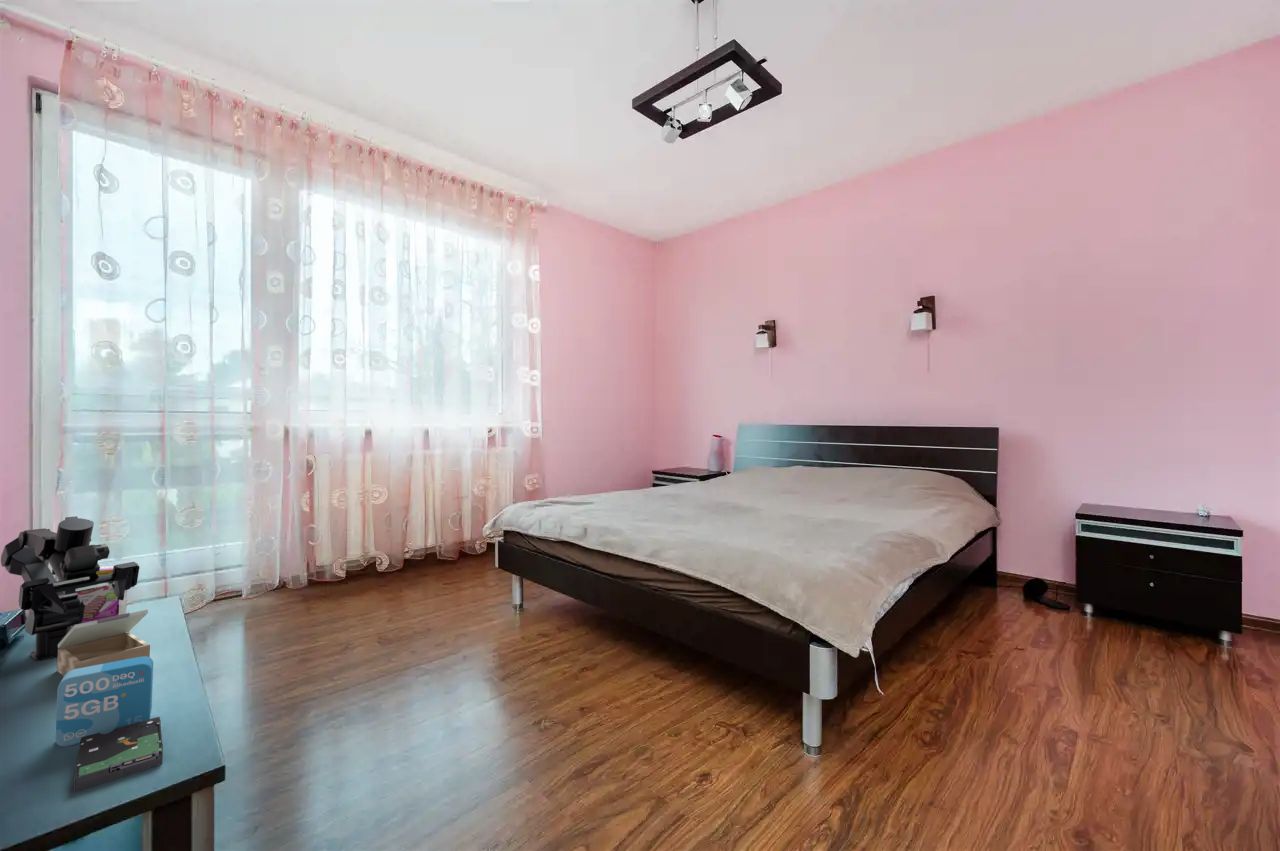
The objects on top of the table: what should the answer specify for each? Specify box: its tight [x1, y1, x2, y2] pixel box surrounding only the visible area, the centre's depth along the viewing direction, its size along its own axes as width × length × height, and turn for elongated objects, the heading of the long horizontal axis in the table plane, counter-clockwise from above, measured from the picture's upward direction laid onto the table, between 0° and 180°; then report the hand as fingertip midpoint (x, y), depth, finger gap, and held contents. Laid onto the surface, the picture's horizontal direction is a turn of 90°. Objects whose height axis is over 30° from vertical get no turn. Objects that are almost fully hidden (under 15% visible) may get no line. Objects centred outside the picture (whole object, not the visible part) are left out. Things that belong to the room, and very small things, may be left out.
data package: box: [55, 656, 154, 747], centre depth 96 cm, size 12×4×12 cm, turn 130°
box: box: [56, 631, 151, 677], centre depth 121 cm, size 14×12×5 cm
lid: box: [58, 609, 149, 648], centre depth 122 cm, size 16×12×1 cm
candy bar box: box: [71, 565, 128, 629], centre depth 146 cm, size 11×5×16 cm, turn 115°
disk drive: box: [73, 716, 164, 793], centre depth 89 cm, size 10×3×15 cm
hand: (94, 604), depth 117 cm, fingers open, 9 cm apart
